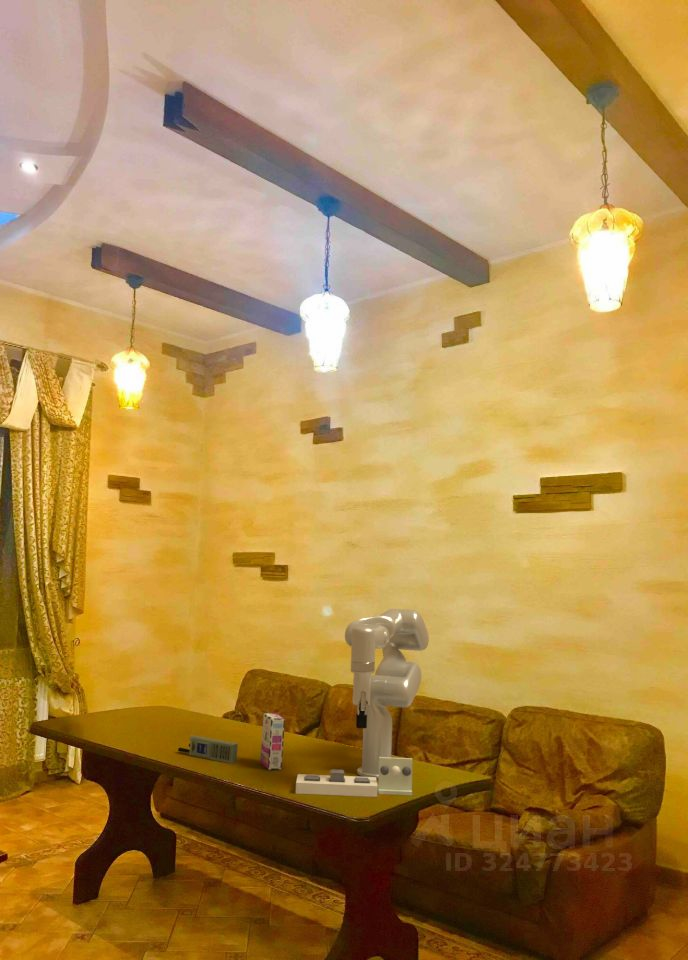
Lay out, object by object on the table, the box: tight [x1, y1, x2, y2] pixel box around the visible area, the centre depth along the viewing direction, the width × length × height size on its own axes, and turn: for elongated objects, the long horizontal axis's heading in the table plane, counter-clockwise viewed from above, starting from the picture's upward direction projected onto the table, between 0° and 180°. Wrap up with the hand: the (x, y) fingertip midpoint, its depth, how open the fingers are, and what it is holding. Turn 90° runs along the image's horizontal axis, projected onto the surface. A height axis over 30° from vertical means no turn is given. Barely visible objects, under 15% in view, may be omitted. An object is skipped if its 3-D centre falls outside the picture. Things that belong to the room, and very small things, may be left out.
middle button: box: [330, 768, 345, 782], centre depth 215 cm, size 4×4×3 cm
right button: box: [355, 776, 369, 783], centre depth 215 cm, size 4×4×3 cm
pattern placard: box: [377, 756, 413, 796], centre depth 216 cm, size 10×4×10 cm, turn 90°
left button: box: [305, 774, 319, 781], centre depth 215 cm, size 4×4×3 cm
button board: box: [295, 773, 378, 798], centre depth 215 cm, size 24×10×3 cm, turn 90°
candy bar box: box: [259, 712, 286, 771], centre depth 242 cm, size 11×5×16 cm, turn 21°
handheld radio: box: [177, 735, 239, 764], centre depth 249 cm, size 7×3×25 cm
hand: (361, 727), depth 222 cm, fingers closed
